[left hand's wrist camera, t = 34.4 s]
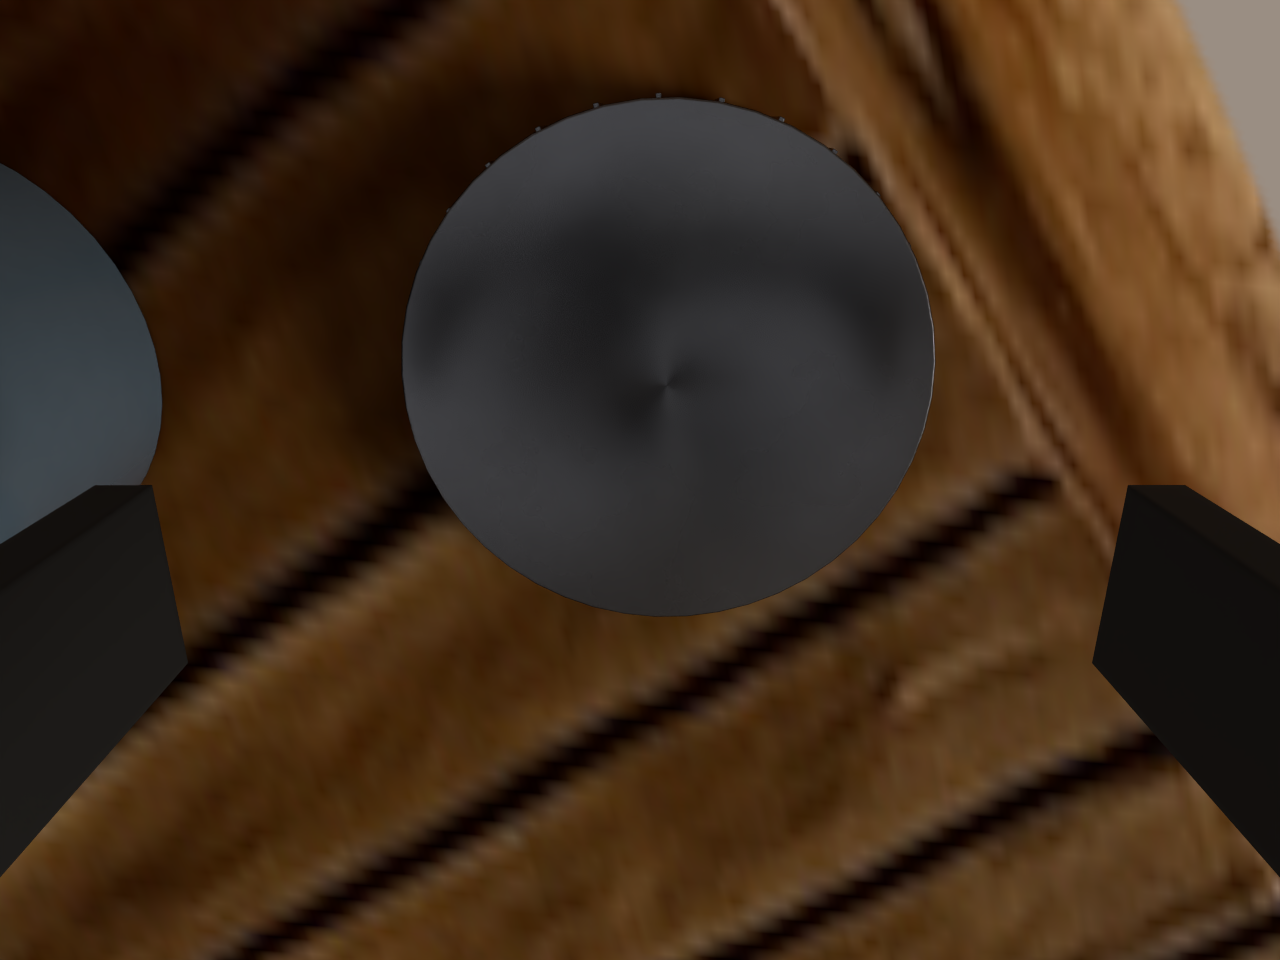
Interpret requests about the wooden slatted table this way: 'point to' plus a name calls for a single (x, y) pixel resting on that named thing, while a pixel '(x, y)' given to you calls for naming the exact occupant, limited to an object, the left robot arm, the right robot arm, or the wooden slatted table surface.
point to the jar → (66, 362)
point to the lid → (668, 356)
